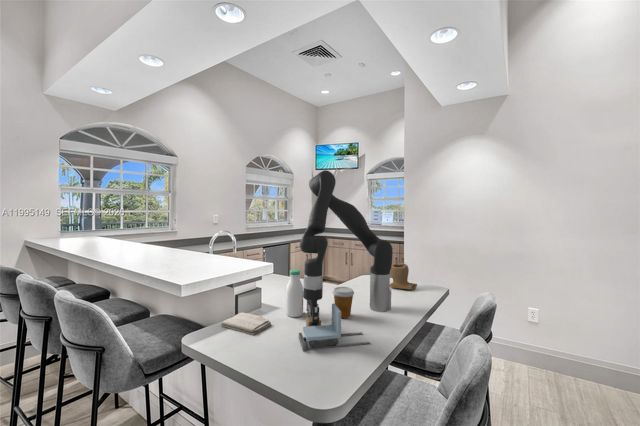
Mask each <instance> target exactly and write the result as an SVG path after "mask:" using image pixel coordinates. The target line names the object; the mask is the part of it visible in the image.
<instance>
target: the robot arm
mask: <svg viewBox="0 0 640 426" xmlns="http://www.w3.org/2000/svg"><path fill="white" fill-rule="evenodd" d="M336 183H337V182H336V178H335V175H334V174H333V173H332V172H331V171H329V170H327V169H325V170H322V171H320V172H318V174H316V175H314V176H313V177H312V178H311V179H310V180H309V182H308V187H309V189H310V191H311V192H312V193H313V195H314V196H316V200H315V201H314V203H313V205H312V208H311V210H310V213H309V218H308V223H307V228H306V229H305V231H304V233H303V235H302V236H301V239H300V243H299V248H300V250H301V252H303V253H305V254H317V256H316V257H314V258H309V259H306V260H305V261H304V271H303V272H304V275H303V276H304V277H303V300H306V313H307V317H311V326H317V323H319V318H320V306H319V303H318V301H320V300H322V299H323V291H324V290H323V288H324V286H323V285H324V284H323V283H324V280H323V278H324V277H323V264H324V258H325V254H326V251H327V250H328V244H329V243H328V242H329V241H328V239H327V238H326V236H324V235H320V234H323V233H324V232H325V230H326V224H327V216H328V211H329V209H330V210H331V212H332V213H333V214H334V215H335V216H336V217H337V218H338V219H339V220H340V221H341V223H343V225H344V226H345V227H346V228H347V229H348V230H349V231H350V232H351V233H352V234H353V235H354V236H355V237H356V238H357V239H358V240H359V241H360V242H361V244H362V245H363V247H365V249H366V250H367V252H368V253H369V255H371V256H372V258H373V265H370V268H369V270H370V271H369V273H370V274H369V277H370V282H369V308H370V310H372V311H374V312H380V313H381V312H384V313H385V312H387V311H391V310H392V289H390V288H391V287H390V284H391V271H390V269H391V267H392V265H393V246H392V244H391V243H390V241H387V240H386V239H385V240H384V239H381V238H380V237H378V236H377V235H376V234H375V233H374V232H373V231H372V230H371V229H370V227H369V224H368V223H367V220H366V218H365V217H364V216H363V214H362V213H361V211H359V210H358V208H357V207H356V206H355V205H353V204H352V203H349V202H347V201H344V200H342V199H340V198H338V197H336V196H335V195H334V192H335V191H334V190H335V187H336ZM314 317H316V319H314Z"/></svg>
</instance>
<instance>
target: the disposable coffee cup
mask: <svg viewBox="0 0 640 426" xmlns="http://www.w3.org/2000/svg"><path fill="white" fill-rule="evenodd" d="M332 293H333V301H334V303H335V305H336V306H337V307H338V309H339V310H340V311H341V320H342V319H344V320H346V319H349V318H351V314H352V306H353V299H354V294H355V292H354V289H353V288H352V287H349V286H347V287H346V286H338V287H337V286H336V287H334V288H333V291H332Z"/></svg>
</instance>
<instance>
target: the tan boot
mask: <svg viewBox="0 0 640 426" xmlns="http://www.w3.org/2000/svg"><path fill="white" fill-rule="evenodd" d="M390 276H391V278H392V282H390V288H392V289H400V290H407V291H408V290H409V291H414V290H416V288H417V287H418V284H417V283H412V282H409V281H408V278H409V266H408V264H407V263H405V262H404V263H403V262H401V263H392V267H391V269H390Z"/></svg>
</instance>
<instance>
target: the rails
mask: <svg viewBox="0 0 640 426" xmlns="http://www.w3.org/2000/svg"><path fill="white" fill-rule="evenodd" d="M358 335H359V336H360V335H363V332H362V331H361V332H350V333H341V337H348V336H358ZM298 340H299V343H300V347H301V349H302V352H306V351H311V350H321V349H333V348H341V347H352V346H363V345H371V341H362V342H361V341H360V342H352V343H340V344H339V343H338V344H337V345H333V344H331V345H330V344H327V345H321V346H315V347H310V346H309V347H307V345H306V342H305V340H307V339H306V337H305V336H303V333H302V332H298Z"/></svg>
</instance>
